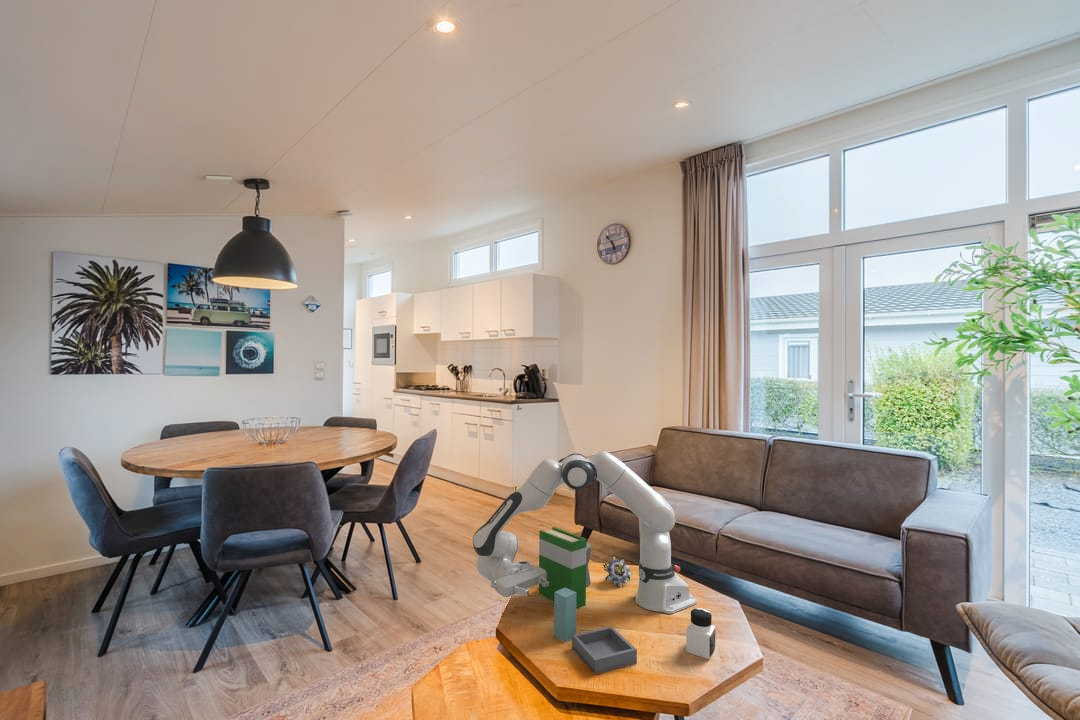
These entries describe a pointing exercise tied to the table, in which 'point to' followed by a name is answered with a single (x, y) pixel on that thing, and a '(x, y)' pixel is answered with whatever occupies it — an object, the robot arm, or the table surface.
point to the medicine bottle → (700, 634)
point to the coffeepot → (588, 549)
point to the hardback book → (563, 563)
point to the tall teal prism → (564, 614)
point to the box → (604, 650)
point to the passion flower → (617, 571)
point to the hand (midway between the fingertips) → (537, 588)
